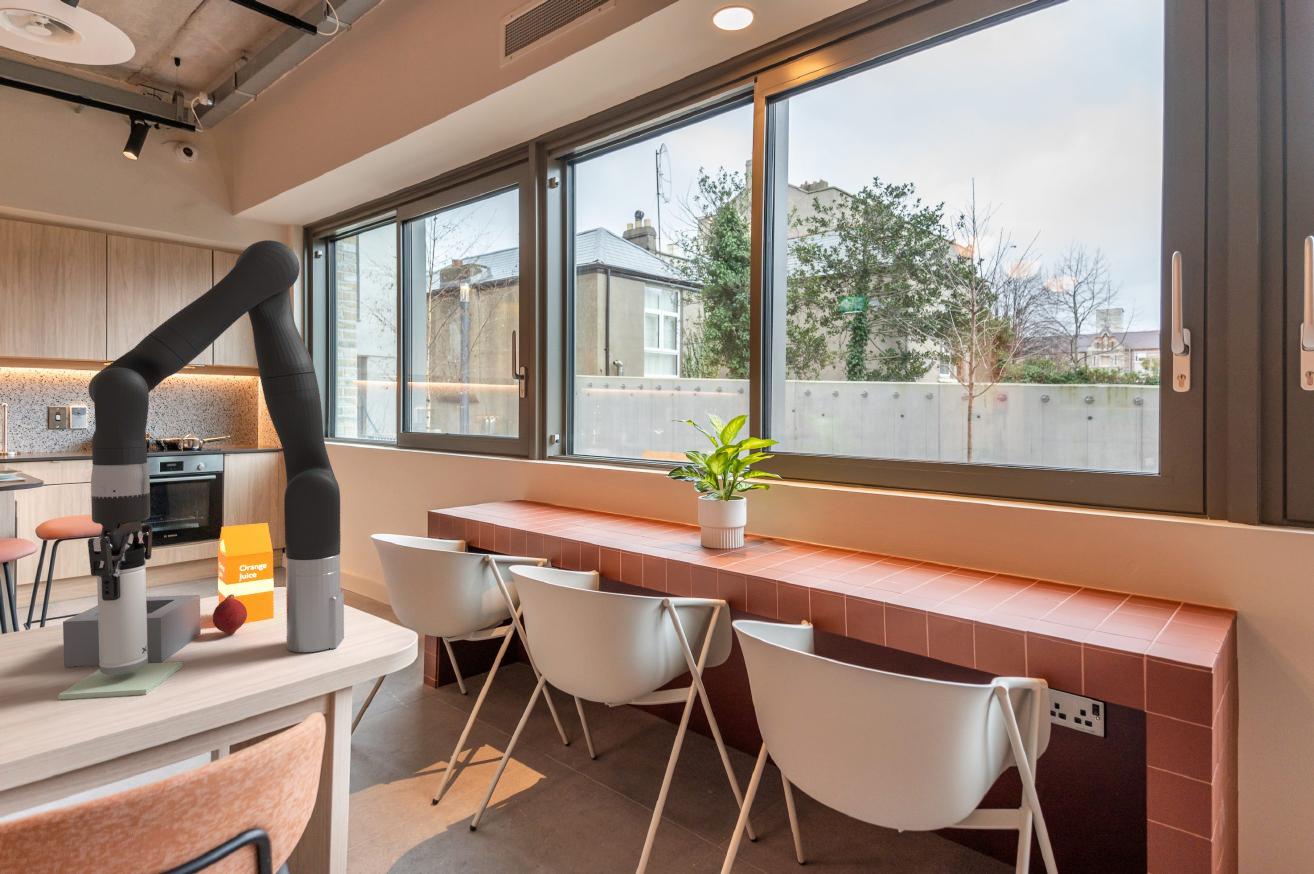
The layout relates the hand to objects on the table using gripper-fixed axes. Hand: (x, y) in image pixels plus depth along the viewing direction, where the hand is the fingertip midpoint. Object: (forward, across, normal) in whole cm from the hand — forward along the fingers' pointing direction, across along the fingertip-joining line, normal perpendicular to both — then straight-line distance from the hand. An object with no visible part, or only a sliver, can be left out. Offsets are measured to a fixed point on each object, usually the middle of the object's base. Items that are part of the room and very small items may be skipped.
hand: (123, 593), depth 113 cm
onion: (+15, +23, -7) cm, 28 cm away
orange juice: (+15, +34, -6) cm, 37 cm away
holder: (+15, +16, +6) cm, 22 cm away
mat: (+15, 0, 0) cm, 15 cm away
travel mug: (+12, 0, 0) cm, 12 cm away
